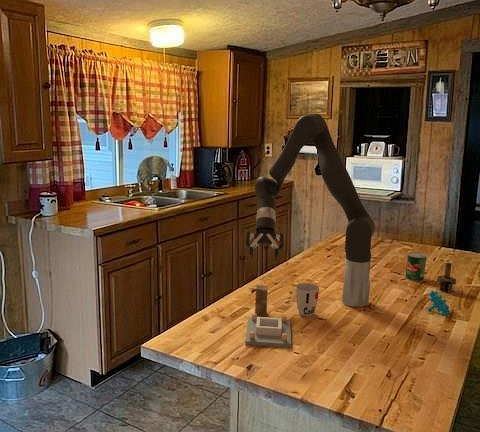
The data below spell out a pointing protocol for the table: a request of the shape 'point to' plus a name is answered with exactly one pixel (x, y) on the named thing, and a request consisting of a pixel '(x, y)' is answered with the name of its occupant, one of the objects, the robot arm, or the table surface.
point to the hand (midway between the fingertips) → (263, 258)
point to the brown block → (261, 300)
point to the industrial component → (446, 279)
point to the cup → (306, 298)
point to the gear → (439, 303)
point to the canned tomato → (415, 266)
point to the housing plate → (268, 331)
